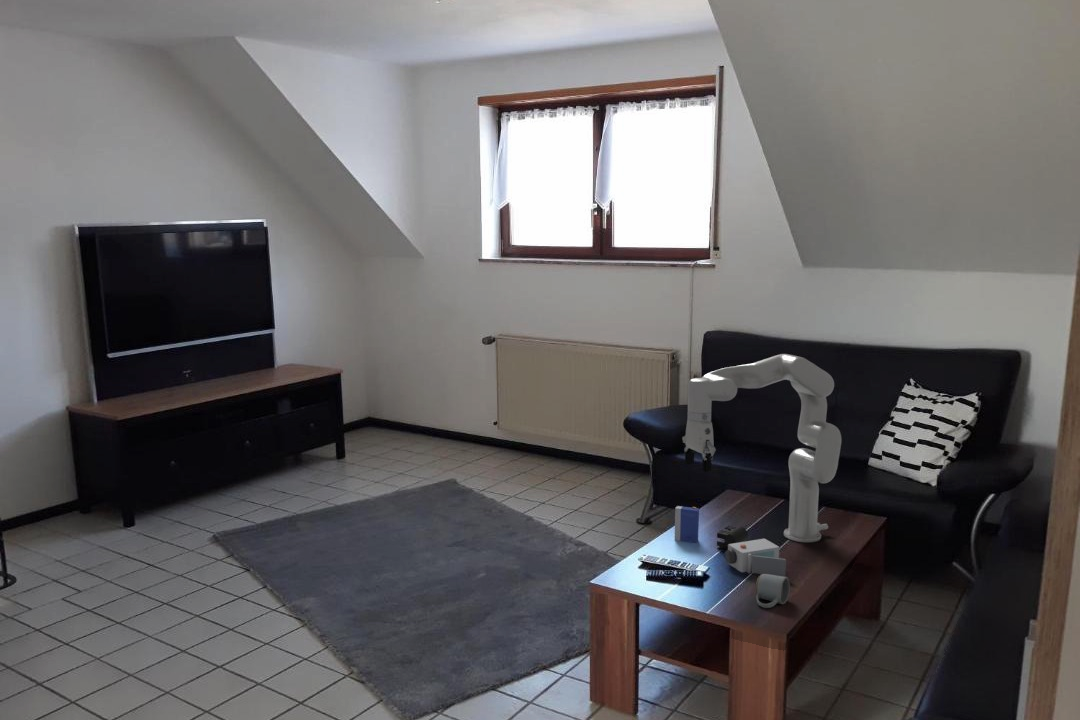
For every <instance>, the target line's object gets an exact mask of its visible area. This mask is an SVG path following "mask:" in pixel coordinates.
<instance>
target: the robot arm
mask: <svg viewBox="0 0 1080 720" xmlns="http://www.w3.org/2000/svg"><path fill="white" fill-rule="evenodd" d="M785 380H787V381H789V382H790V385H791V387H792V388H793V389H794V390H795V391H796V392H797V394H798V396H799V398H800V401H801V402H800V403H801V404H800V405H801V409H800V415H799V422H798V427H797V438H798V441H799V442H800V443H802V444H803V445H805V446H809V447H811V448H814V449H815V450H814V449H813V450H812V449H809V448H804V447H801V448H795V449H794V450H793V451H792V452H791V453H790V455H789V457H788V469H789V470H788V471H789V478H790V479H789V480H790V481H789V483H790V487H789V489H790V490H789V509H788V510H789V511H788V528H785V529H784V531H783V536H784V537H785V538H787V539H789V540H791V541H794V542H799V543H816V542H819V541H820V540H821V539H822V534H821V530H822V531H823V530H827V529H829V525H828V524H827V523H822V524H821V523H820V522H818V513H819V512H818V511H819V493H820V488H819V483H820V484H827V483H829V482H831V481H832V480H833V479H834V477H835V476H836V474H837V470H838V467H839V459H840V453H841V446H842V434H841V431H840V429H839V428H838V426H836V425H834V424H832V423H829V422H827V412H828V401H827V397H828V396H830V395H831V394H832V393H833V391H834V388H835V380H834V379H833V377H832V375H831V374H829V373H828V372H827V371H825V370H824V369H822V368H820V367H819V366H817V365H816V364H815V363H813V362H811V361H809V360H808V359H807V358H805V357H802V356H797V355H794V354H788V353H780V354H777V355H773V356H771V357H768V358H764V359H762V360H758V361H755V362H753V363H747V364H741V365H736V366H729V367H728V366H727V367H724V368H723V367H722V368H720V369H716V370H714V371H710V372H708V373H706V374H704V375H703V376H701V377H694V378H691V379H690V380H689V381H688V385H687V386H688V387H687V390H688V391H687V420H686V427H685V435H684V436H682V443H683V447H684V449H683V451H684V464H685V465H692V464H694V463H695V452H697V453H700V454H701V455H702V460H701V461H702V462H701V472H703V473H706V472H711V471H712V460H713V457H715V454H716V453H715V452H716V450H717V449H716V447H715V446H714V442H715V441H714V428H713V422H712V403H713V402H712V401H718V402H726V401H727V402H728V401H731V400H733V399H734V398H735V397H736V395H737V393H738V389H761V388H764V387H767V386H769V385H773V384H775V383H778V382H781V381H785Z"/></svg>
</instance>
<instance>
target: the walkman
mask: <svg viewBox="0 0 1080 720" xmlns="http://www.w3.org/2000/svg"><path fill="white" fill-rule="evenodd" d="M699 518H700V508H699V507H698V508H697V507H696V506H692V507H689V506H683V505H681V506H680V505H676V507H675V509H674V541H678V542H684V543H685V542H686V543H694V544H697V543H698V542H699V530H700V529H699V525H700V524H699V521H700V519H699Z"/></svg>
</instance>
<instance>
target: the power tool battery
mask: <svg viewBox="0 0 1080 720" xmlns="http://www.w3.org/2000/svg"><path fill="white" fill-rule="evenodd" d="M724 529H725V530H722V529H721V530H719V531H717V533H716V538H717V539H720V540H724V542H723V541H720V540H717V541H716V546H717V551H721V552H724V553H725V552H726V551H727V550H728V544H733V543H739V542H746V541H747V540H748V539H749V538H748V537H749V534H748V531H747V529H746V528H745V527H744V526H743V525H739V526H737V527H736V526H732V525H726V526H725V527H724Z"/></svg>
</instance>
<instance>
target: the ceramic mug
mask: <svg viewBox="0 0 1080 720" xmlns="http://www.w3.org/2000/svg"><path fill="white" fill-rule="evenodd" d="M790 590H791V587H790V580H789V578H788V577H787V576H785V577H783V576H776V575H770V574H759V576H758V577H757V580H756V583H755V593H756V594H755V595H756V596H755V597H756V603H757V604H758V606H760V607H762V608H763V609H770V608H772V607H774V606H775V605H777V604H780V605H784V604H786V603H787V601H788V598H789V595H790ZM759 599H762V600H765V601H770V602H768V603H763V602H761V601H760V600H759Z"/></svg>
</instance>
